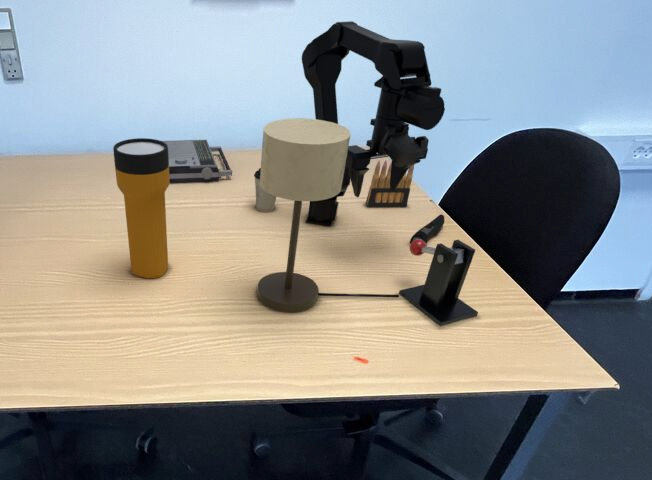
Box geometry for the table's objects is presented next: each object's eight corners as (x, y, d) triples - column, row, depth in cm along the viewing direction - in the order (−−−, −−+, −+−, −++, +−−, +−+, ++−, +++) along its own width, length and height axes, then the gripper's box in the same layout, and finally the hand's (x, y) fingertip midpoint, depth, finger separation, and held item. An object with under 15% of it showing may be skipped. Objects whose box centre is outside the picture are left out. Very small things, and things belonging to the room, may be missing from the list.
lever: (405, 255, 105) (406, 239, 103) (418, 252, 106) (419, 237, 104) (451, 267, 94) (453, 249, 93) (465, 264, 95) (466, 246, 94)
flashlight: (102, 149, 93) (128, 133, 100) (117, 276, 109) (138, 255, 116) (154, 156, 90) (176, 139, 97) (161, 285, 107) (180, 262, 114)
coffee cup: (248, 210, 136) (250, 172, 129) (256, 200, 141) (259, 163, 134) (273, 215, 134) (277, 176, 127) (281, 205, 139) (285, 167, 132)
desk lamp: (253, 315, 99) (265, 143, 79) (250, 277, 110) (261, 117, 90) (408, 318, 99) (459, 147, 79) (390, 279, 110) (431, 120, 90)
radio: (157, 138, 164) (220, 137, 166) (158, 155, 167) (220, 153, 170) (162, 165, 146) (233, 163, 148) (163, 184, 149) (232, 181, 151)
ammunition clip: (367, 207, 139) (376, 161, 131) (365, 204, 140) (374, 159, 133) (406, 207, 139) (418, 161, 132) (404, 204, 141) (415, 159, 133)
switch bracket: (398, 295, 105) (414, 236, 97) (433, 286, 108) (451, 229, 100) (439, 327, 97) (460, 266, 89) (476, 317, 100) (500, 257, 91)
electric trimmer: (446, 228, 130) (450, 216, 128) (422, 249, 121) (426, 236, 119) (432, 223, 132) (435, 211, 130) (407, 244, 122) (410, 232, 120)
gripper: (377, 132, 94) (360, 214, 104) (457, 122, 100) (434, 201, 110) (342, 116, 102) (329, 194, 112) (418, 108, 108) (400, 182, 117)
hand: (374, 193), depth 112 cm, fingers open, 9 cm apart
